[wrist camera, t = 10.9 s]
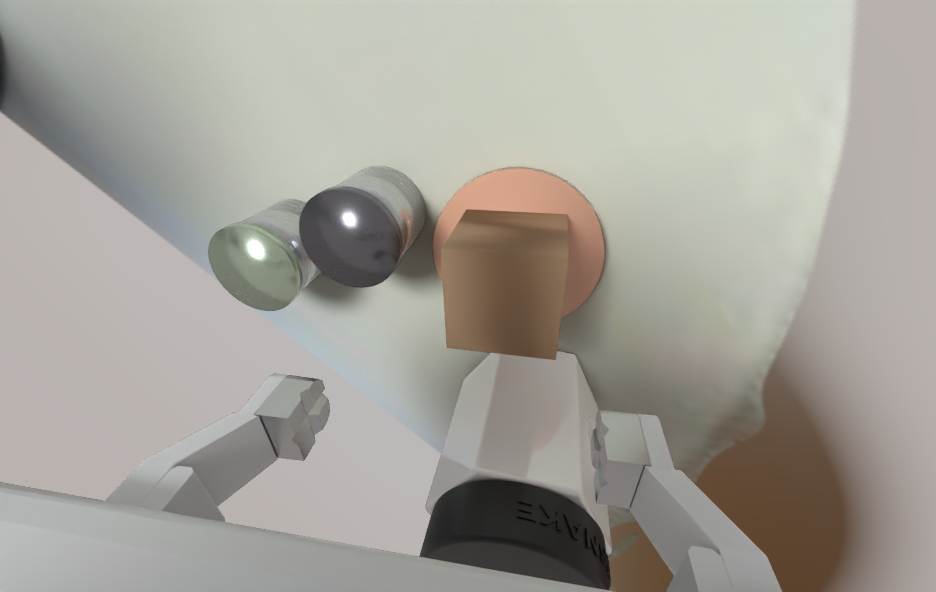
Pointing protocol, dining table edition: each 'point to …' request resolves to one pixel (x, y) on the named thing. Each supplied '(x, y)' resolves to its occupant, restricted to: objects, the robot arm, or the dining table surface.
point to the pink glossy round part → (535, 195)
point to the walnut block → (505, 282)
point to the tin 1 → (263, 257)
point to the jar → (521, 475)
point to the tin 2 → (362, 226)
